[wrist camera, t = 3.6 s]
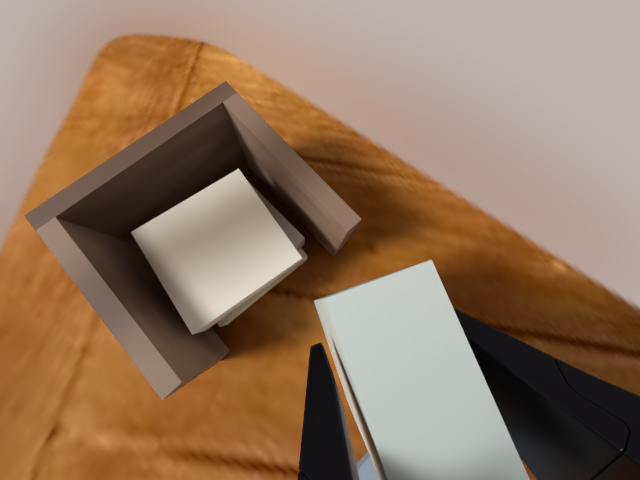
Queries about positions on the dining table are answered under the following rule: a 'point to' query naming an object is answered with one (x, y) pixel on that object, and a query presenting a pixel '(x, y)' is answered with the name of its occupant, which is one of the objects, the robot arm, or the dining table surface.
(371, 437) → the pale grey rectangular block
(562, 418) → the robot arm
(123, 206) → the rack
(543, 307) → the dining table surface
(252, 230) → the offcut stack
